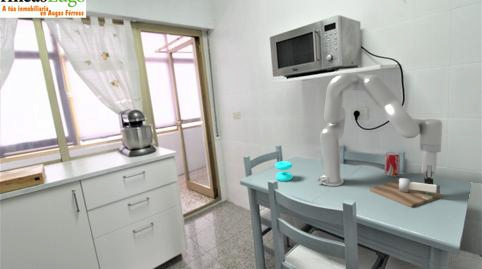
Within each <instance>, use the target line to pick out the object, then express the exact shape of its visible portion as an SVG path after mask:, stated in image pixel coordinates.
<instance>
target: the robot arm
mask: <svg viewBox="0 0 482 269" xmlns="http://www.w3.org/2000/svg"><path fill="white" fill-rule="evenodd" d="M351 90H352V91H359V92H360V91H361V92H365V93H366V94H367V95H368V97H369V98H370V99H371V100H372V101H373V103H374V104H375V105H376V106H377V107H378V109H380V111H381V112H382V113H383V115H384V116H385V117H386V118H387V120H388V121H389V123H390V124H391V125H392V126H393V128H394V129H395V130H396V131H397V132H398V133H399V135H401V136H402V137H403V138H405V139H414V138H416V137H417V136H418V135H419V149H418V150H419V151H420V152H421V171H420V173H422V174H424V180H423V181H424V182H423V183H424V184H432V185H434V175H435V174H436V170H437V162H438V160H437V159H438V153H440V152H442V135H443V134H442V132H443V121H442V120H440V119H437V118H436V119H435V118H434V119H433V118H432V119H431V118H430V119H429V118H428V119H417V118H412V117H411V115H409V113H408V112H407V111H406V110H405V108H404V107H403V105H402V103H401V100H400V99H399V98H398V95H396V94H395V92H394V91H392V90H391V88H390V87H389V86H388V85H387V84H386V82H384V79H383V78H382V77H381V75H378V74H363V73H354V72H353V73H352V72H344V73H339V74H338V75H336V76H334V77H333V78H331V80H330V82H329V83H328V85H327V87H326V92H325V94H326V95H325V102H324V111H323V119H324V121H325V123H326V126H325V127H324V128H323V129H322V130H321V131H320V133H319V142H320V147H321V148H320V149H321V172H322V173H321V174H320V176H319V177H315V178H314V180H315V182H316V183H317V182H319V183H320V184H322V185H325V186H328V187H339V186H341V185H343V184H344V183H345V182H344V179H343V178H341V149H340V148H341V147H340V139H341V138H343V136H344V131H345V122H346V115H347V114H346V111H345V108H344V107H343V101H344V93H345V91H351Z"/></svg>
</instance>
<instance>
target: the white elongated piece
mask: <svg viewBox="0 0 482 269" xmlns="http://www.w3.org/2000/svg"><path fill="white" fill-rule="evenodd" d="M398 180H399V191H402V192H409V189H413V190H420V191H427V192H435V193H440V194H441V185H439V184H433V185H432V184H424V182H423V183H422V182H415V181H410V179H409V178H406V177H400V178H399V179H398Z"/></svg>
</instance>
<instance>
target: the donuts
mask: <svg viewBox="0 0 482 269" xmlns="http://www.w3.org/2000/svg"><path fill="white" fill-rule="evenodd" d="M292 167H293V163H292V162H290V161H285V160H284V161H283V160H282V161H277V162H276V163H275V168H276V170H279V171H281V172H277V174H276V176H275V177H276V178H275V179H276V180H277V181H281V182H289V181H292V179H293V177H294V176H293V174H292V173H291V172H289V170H290V169H291V168H292Z"/></svg>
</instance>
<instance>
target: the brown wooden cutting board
mask: <svg viewBox="0 0 482 269" xmlns="http://www.w3.org/2000/svg"><path fill="white" fill-rule="evenodd" d="M368 191H370V192H372V193H374V194H377V195H379V196H382V197H385V198H386V199H389V200H391V201H393V202H397V203H399V204H402V205H403V206H406V207H409V208H410V209H411V208H414V207H417V206H421V205H424V204H427V203H429V202H432V201H435V200H437V199H438V200H439V199H441V198H443V196H444V194H443V193H441V192H440V193H435V192H427V191H420V190H413V189H409V192H402V191H399V179H397V180H393V181H390V182H386V183H383V184H379V185H376V186H373V187H370V188H369V190H368Z"/></svg>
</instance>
